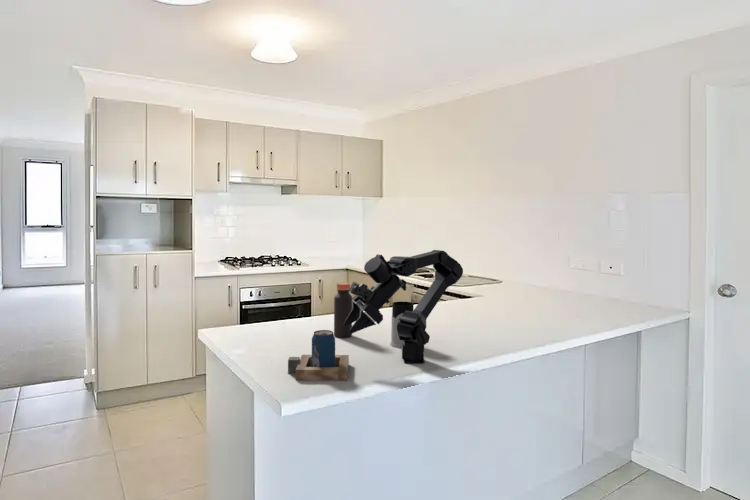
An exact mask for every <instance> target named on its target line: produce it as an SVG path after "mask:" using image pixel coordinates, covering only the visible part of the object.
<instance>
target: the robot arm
mask: <svg viewBox="0 0 750 500" xmlns="http://www.w3.org/2000/svg"><path fill="white" fill-rule="evenodd" d="M430 266H432V268H433V269H434V270H435V271H434V280H433V282H432V283H431V285H430V286H429V287H428V289H427V290H426V292H425V293H424V295H423V296H422V297H421V299H420V301H419V302H418V303H417V305H416V306H415V308H413V311H412V312H410V311H405V312H404V313H403V315H402V317H401V318H400V319H398V320H400V321H399V322H398V324H397V332H398V336H399V339H400V340H403V341H404V345H402V348H401V359H402V361H403V363H404V364H425V357H424V356H425V345H427V344H428V343H430V338H431V337H430V335H429V333H428V332H427V331H426V329H427V320H428V317H429V316H430V314H431V313H432V311H433V310H434V309H435V307H436V305H437V304H438V303H439V301H440V299H441V298H442V296H443V295H444V294H445V292H446V290H448V288H449V287H451V286H453V285H455V284H456V283H457V282H458V281H459V280H460V279H461V278H462V276H463V273H464V269H463V267H462V265H461V264H460V263H459V261H457V260H456V259H454V257H452V256H451V255H449V254H448V253H447V251H445V250H440V249H433V250H431V251H427V252H424V253H420V254H416V255H412V256H396V255H395V256H391V257H390V258H389V260H386V259H385V257H384V256H383V255H382V254H376V255H375V256H374V257H372V258H370V259H369V260H368V261H366V262H365V264H364V266H363V267H364V269H363V270H364V272H366V274H367V275H368V276H369V277H370V278H371V279H372V280H373V281H374V283H377V284H376V285H375V286H374V285H371V286H370V287H368V285H367V284H365V283H363V282H361V283H357V282H356V281H352V283H351V284H350V289H349V294H353V295H354V296H352V309H351V311H350V313H349V315H348V317H347V318H346V320H345V322H344V325H345V326H347V325H349V324H351V323H352V327H351V329H350V330H349V332H350V333H351V334H352V335H353V334H354V333H357V332H359V331H362V330H364V329H367V328H370V327H373V326H376V325H380V324H381V323H382V321H383V320H384V315H383V314H382V313H381V311H380V309H382V307H383V306H384V305H385V304H386V305H387V304H389V303H390V299H391V298H392V297H393V296H394V295H395V294H396V293H397V292H398V291H399V290H400V289H402V290H403V291H407V281H406V280H404V279H403V278H402V279H401V278H400V277H406V278H407V277H408V278H409V277H410V276H411V275H413V274H415V273H416V272H417V271H418V270H419V269H422V268H426V267H430ZM399 276H400V277H399Z"/></svg>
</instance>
